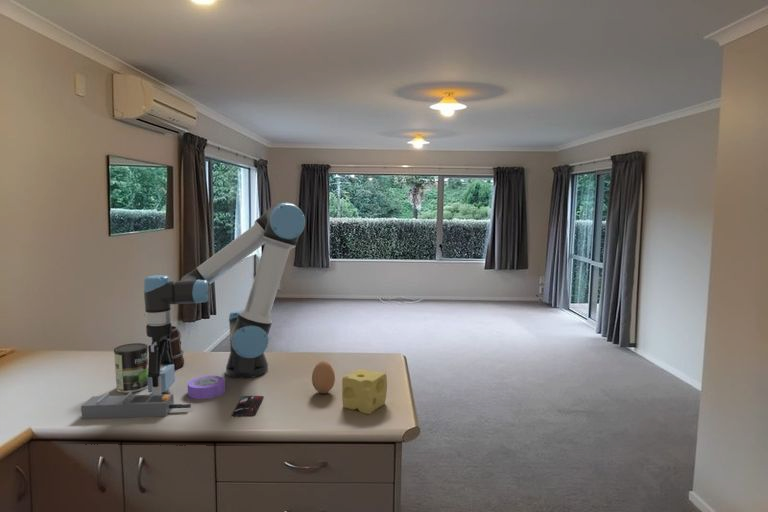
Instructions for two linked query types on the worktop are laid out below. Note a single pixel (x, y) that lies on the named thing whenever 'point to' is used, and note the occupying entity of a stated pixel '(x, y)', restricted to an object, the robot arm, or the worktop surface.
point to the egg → (323, 377)
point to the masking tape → (206, 387)
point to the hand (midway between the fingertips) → (162, 389)
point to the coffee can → (131, 367)
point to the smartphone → (248, 406)
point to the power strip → (129, 406)
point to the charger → (164, 377)
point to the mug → (176, 348)
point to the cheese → (364, 390)
